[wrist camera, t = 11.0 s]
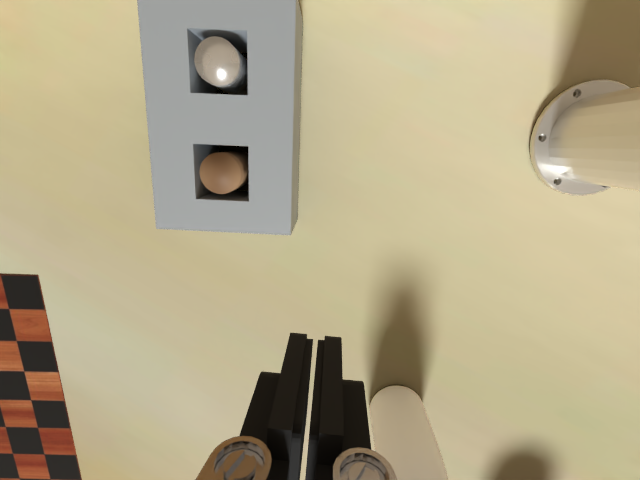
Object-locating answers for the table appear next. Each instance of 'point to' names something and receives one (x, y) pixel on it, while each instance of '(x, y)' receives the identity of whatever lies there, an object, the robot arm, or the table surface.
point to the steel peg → (222, 65)
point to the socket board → (223, 112)
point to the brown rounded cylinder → (225, 171)
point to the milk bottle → (405, 435)
